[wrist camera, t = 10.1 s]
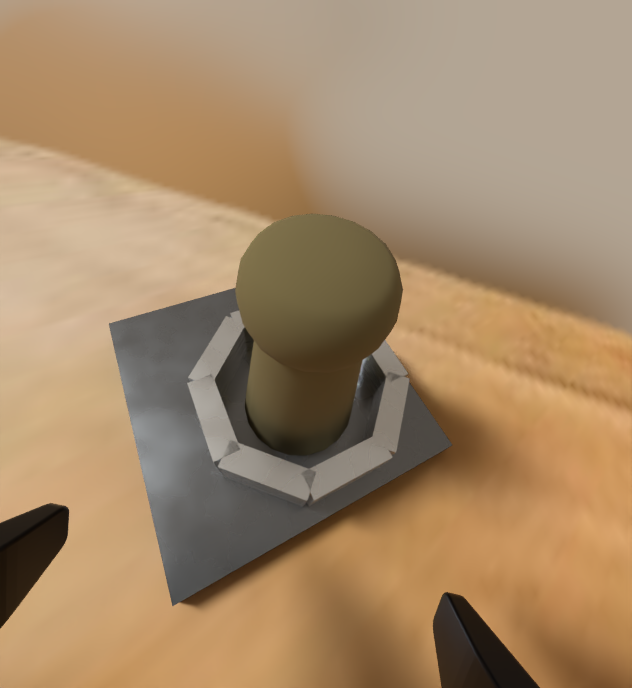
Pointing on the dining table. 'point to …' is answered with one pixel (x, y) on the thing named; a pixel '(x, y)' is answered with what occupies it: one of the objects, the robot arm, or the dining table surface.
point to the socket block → (247, 441)
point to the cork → (312, 325)
